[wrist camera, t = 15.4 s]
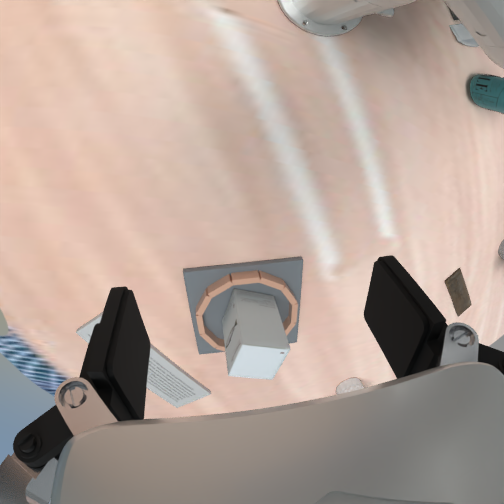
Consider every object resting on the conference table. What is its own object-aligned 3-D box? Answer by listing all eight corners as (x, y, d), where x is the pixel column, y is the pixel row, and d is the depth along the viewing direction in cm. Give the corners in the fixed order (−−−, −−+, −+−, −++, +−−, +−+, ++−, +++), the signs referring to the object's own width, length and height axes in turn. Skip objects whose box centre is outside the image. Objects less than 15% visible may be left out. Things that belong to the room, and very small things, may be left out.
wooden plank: (472, 305, 67) (459, 318, 68) (469, 302, 68) (456, 315, 69) (460, 268, 60) (445, 283, 61) (456, 265, 61) (442, 280, 62)
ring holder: (301, 256, 52) (306, 266, 49) (295, 338, 62) (299, 349, 59) (183, 268, 50) (182, 279, 47) (199, 350, 60) (199, 361, 57)
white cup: (329, 386, 73) (341, 418, 64) (357, 371, 72) (372, 402, 63) (338, 397, 77) (350, 427, 68) (365, 384, 76) (378, 413, 67)
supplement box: (232, 287, 52) (242, 343, 41) (274, 295, 54) (292, 349, 43) (220, 320, 55) (226, 376, 44) (259, 326, 57) (273, 381, 46)
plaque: (210, 394, 66) (176, 407, 68) (210, 388, 67) (176, 402, 69) (108, 310, 51) (75, 332, 52) (110, 305, 52) (77, 327, 54)
